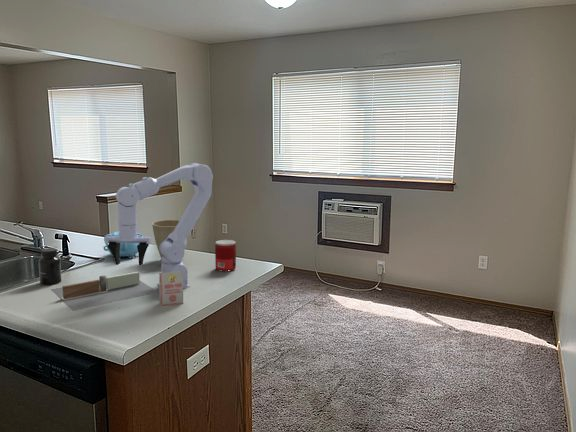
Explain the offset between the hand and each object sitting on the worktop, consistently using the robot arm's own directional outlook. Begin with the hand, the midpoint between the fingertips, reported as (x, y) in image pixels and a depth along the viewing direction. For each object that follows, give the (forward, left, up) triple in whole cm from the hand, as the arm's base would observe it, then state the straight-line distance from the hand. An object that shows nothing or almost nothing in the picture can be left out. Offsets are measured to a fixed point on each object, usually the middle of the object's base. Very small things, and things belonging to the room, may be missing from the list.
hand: (129, 264), depth 152 cm
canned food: (+3, -40, -10) cm, 41 cm away
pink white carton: (-18, -6, -10) cm, 21 cm away
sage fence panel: (+5, 0, -9) cm, 10 cm away
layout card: (+5, +7, -9) cm, 13 cm away
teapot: (+45, -16, -10) cm, 49 cm away
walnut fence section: (+5, +13, -9) cm, 17 cm away
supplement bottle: (+25, +18, -10) cm, 32 cm away
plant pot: (+27, -29, -10) cm, 41 cm away
